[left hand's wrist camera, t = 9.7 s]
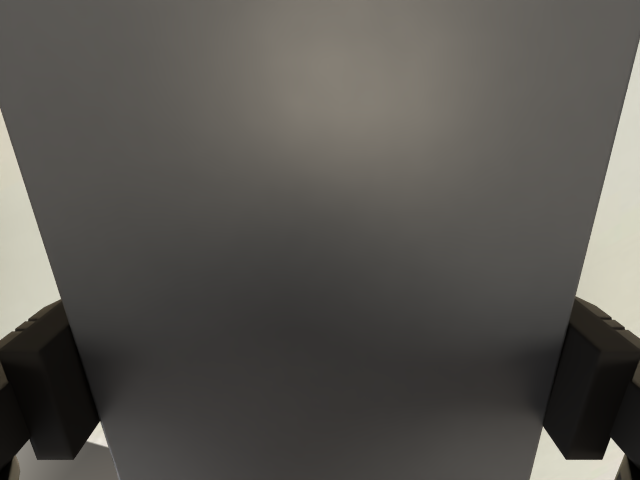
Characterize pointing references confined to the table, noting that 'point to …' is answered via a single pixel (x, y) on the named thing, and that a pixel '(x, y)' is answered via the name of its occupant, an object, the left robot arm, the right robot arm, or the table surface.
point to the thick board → (317, 221)
